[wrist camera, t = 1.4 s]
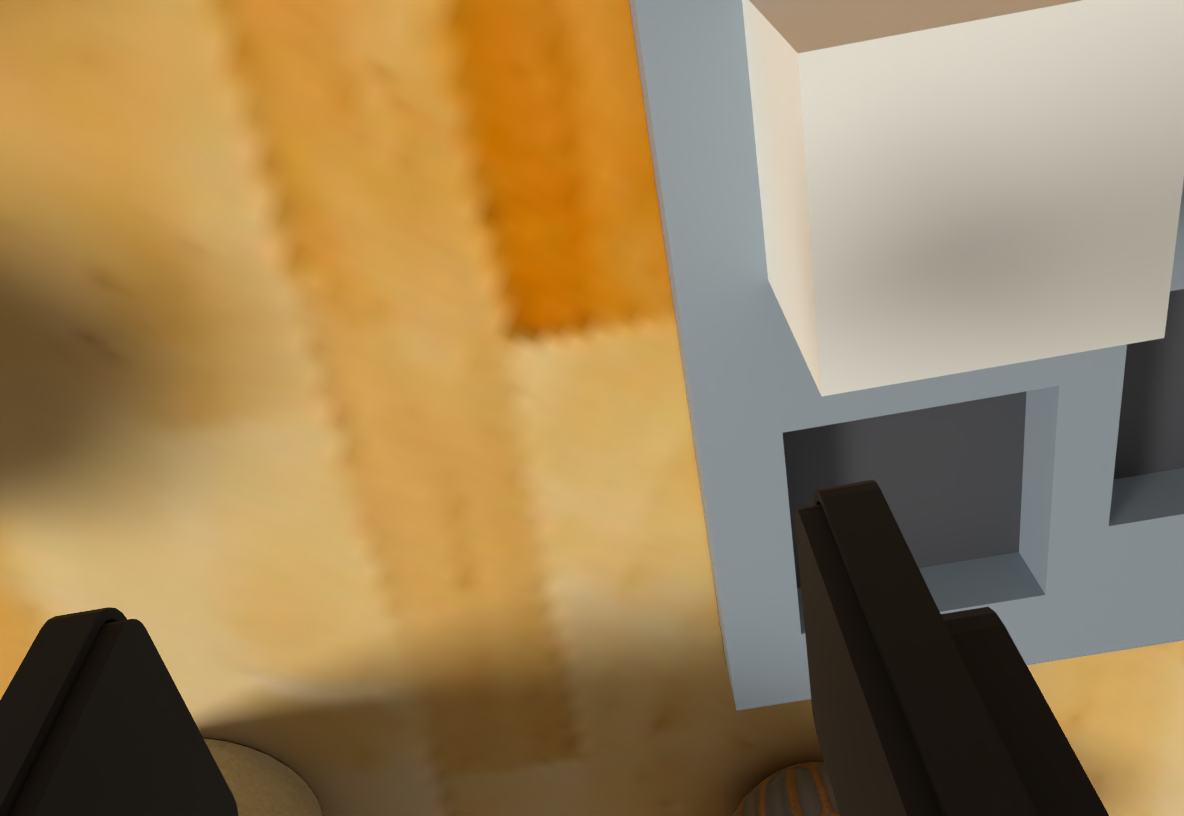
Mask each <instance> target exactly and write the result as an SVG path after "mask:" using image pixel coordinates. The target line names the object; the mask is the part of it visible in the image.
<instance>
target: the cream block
mask: <svg viewBox="0 0 1184 816" xmlns="http://www.w3.org/2000/svg"><path fill="white" fill-rule="evenodd" d="M742 5H743V16H744V27H745V37H746V48H747V59H748V70H749V80H750V91H751V102H752V112H753V123H754V134H755V144H756V155H757V166H758V177H759V187H760V198H761V209H762V219H763V230H764V241H765V251H766V262H767V273H768V281H769V283H770V285H771V287H772V289H773V291H774V294H775V296H776V298H777V300H778V302H779V305H780V307H781V309H782V311H783V313H784V315H785V318H786V320H787V322H788V324H789V326H790V329H791V331H792V333H793V335H794V337H795V339H796V342H797V344H798V346H799V348H800V350H801V353H802V355H803V357H804V359H805V361H806V363H807V366H808V368H809V370H810V372H811V374H812V377H813V379H814V381H815V383H816V385H817V387H818V390H819V392H820V394H821V396H828V395H834V394H840V393H845V392H851V391H857V390H863V389H869V388H875V387H881V386H886V385H892V384H898V383H904V382H910V381H916V380H921V379H927V378H933V377H939V376H945V375H951V374H957V373H962V372H968V371H974V370H980V369H986V368H992V367H997V366H1003V365H1009V364H1015V363H1021V362H1027V361H1033V360H1038V359H1044V358H1050V357H1056V356H1062V355H1068V354H1073V353H1079V352H1085V351H1091V350H1097V349H1103V348H1109V347H1114V346H1120V345H1126V344H1132V343H1138V342H1144V341H1149V340H1155V339H1161V338H1164V336H1165V328H1166V320H1167V312H1168V304H1169V295H1170V287H1171V279H1172V271H1173V262H1174V254H1175V246H1176V238H1177V230H1178V221H1179V213H1180V205H1181V197H1182V189H1183V180H1184V0H742Z"/></svg>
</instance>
